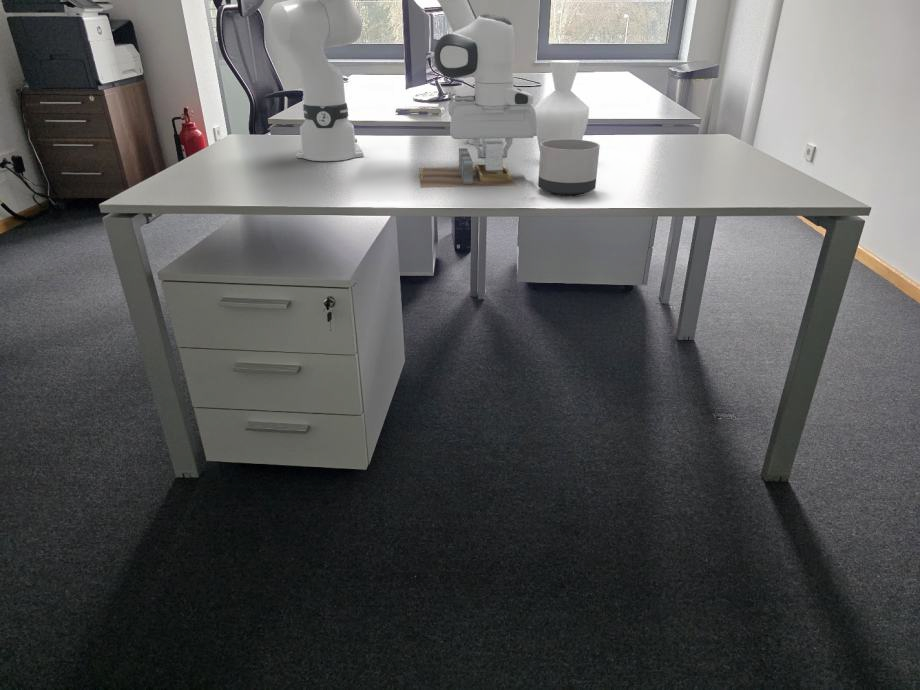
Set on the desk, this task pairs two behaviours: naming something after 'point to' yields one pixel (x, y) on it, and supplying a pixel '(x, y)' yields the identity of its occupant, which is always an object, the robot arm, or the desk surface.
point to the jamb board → (456, 178)
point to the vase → (561, 107)
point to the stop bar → (492, 154)
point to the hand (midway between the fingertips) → (492, 157)
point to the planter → (568, 166)
